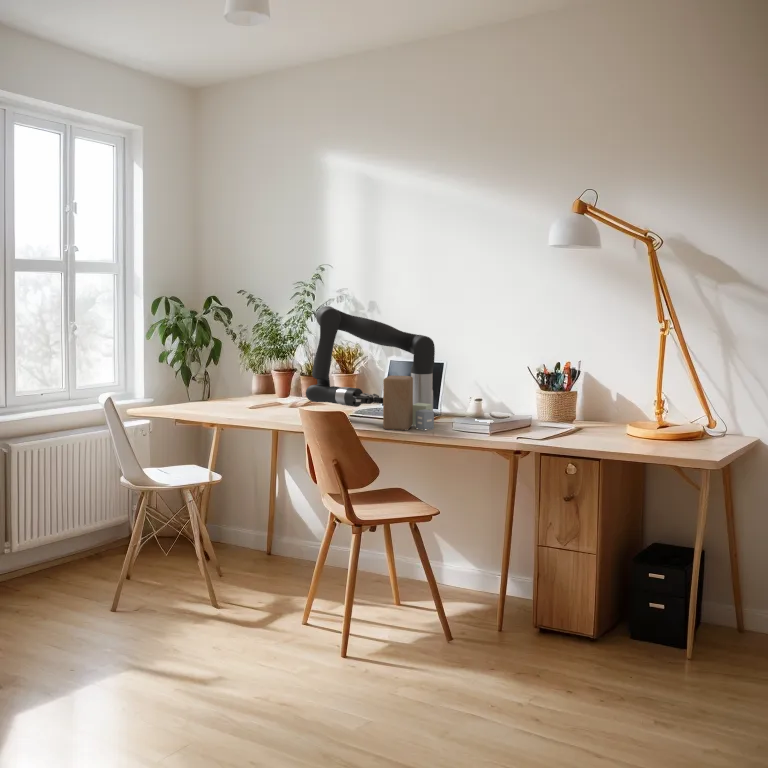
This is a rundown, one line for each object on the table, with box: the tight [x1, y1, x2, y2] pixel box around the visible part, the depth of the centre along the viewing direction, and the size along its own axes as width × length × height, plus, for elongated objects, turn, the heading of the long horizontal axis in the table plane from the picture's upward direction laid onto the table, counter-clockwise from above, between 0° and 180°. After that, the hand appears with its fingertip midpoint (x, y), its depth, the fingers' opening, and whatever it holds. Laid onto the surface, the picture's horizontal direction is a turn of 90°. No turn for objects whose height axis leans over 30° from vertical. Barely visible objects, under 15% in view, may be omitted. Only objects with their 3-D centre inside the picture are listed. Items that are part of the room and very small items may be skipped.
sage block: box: [412, 403, 432, 426], centre depth 338 cm, size 6×6×8 cm
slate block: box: [415, 409, 435, 431], centre depth 329 cm, size 5×5×7 cm
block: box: [382, 374, 413, 431], centre depth 330 cm, size 10×10×20 cm
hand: (383, 400), depth 334 cm, fingers closed
